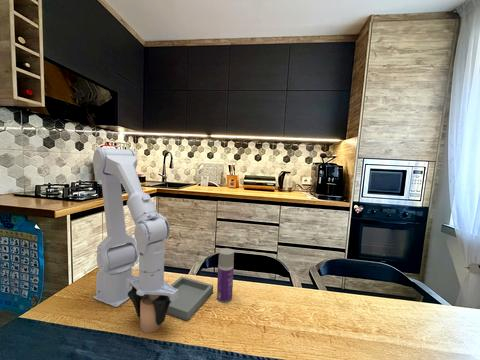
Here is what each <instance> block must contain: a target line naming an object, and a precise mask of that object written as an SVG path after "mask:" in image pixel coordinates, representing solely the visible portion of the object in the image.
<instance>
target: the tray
mask: <svg viewBox="0 0 480 360" xmlns="http://www.w3.org/2000/svg"><path fill="white" fill-rule="evenodd" d="M170 285H171V286H172V287H173V288H175V289H178V297H177V298H176V299H175V300H174V301H171V302H170V305H169V307H168V309H167V312H166V315H168V316H171V317H174V318H176V319H180V320H183V321H185V322H189V321H190V319H191V318H192V317H193V316H194V315H195V314H196V313H197V312H198V310H199V309H200V308H201V307H202V305H204V303H206V301H208V299H209V298H210V296H212V294H213V293H214V284H211V283H207V282H203V281H200V280H196V279H193V278H190V277H186V276H182V275H181V276H180V277H179V278H177V280H175V281H174V282H172V283H171V284H170Z"/></svg>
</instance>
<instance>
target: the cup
mask: <svg viewBox="0 0 480 360" xmlns="http://www.w3.org/2000/svg"><path fill="white" fill-rule="evenodd" d="M158 297H159V295H150V294H148V295H146V296H144V297H143V298H142V299H141V301H140V318H139V327H140V328H139V329H140V332H142V333H144V334H152V333H154V332H157V331H158V330H159V329H160V328H161V327H162V323H161V324H160V325H157V323H156V312H155V308H154V305H153V303H152V302H153V301H154V300H155V299H157V298H158Z"/></svg>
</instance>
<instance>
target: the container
mask: <svg viewBox="0 0 480 360" xmlns="http://www.w3.org/2000/svg"><path fill="white" fill-rule="evenodd" d="M234 257H235V251H234V249H232V248H227V247H225V248H221V249H220V250H219V252H218V262H217V263H218V265H217V285H216V287H217V289H216V294H217V295H216V300H217V301H218V302H220V303H222V304H228V303H230V302H232V300H233V286H234V285H233V284H234V283H233V282H234V268H235V267H234V264H235V263H234V261H235V258H234Z"/></svg>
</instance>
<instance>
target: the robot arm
mask: <svg viewBox="0 0 480 360" xmlns="http://www.w3.org/2000/svg"><path fill="white" fill-rule="evenodd" d="M92 164H93V165H92V166H93V173H94V178H95V179H98V180H100V183H101V190H102V199H103V201H102V202H103V207H104V217H105V228H106V235H107V236H106V237H105V238H104V239H103V240H102V241H101V242H100V243H99V244H98V245H97V247H96V248H97V249H96V251H97V253H96V264H97V268H98V271H97V273H96V275H95V276H96V277H95V278H96V280H95V283H96V284H95V285H96V287H95V290H96V291H95V292H96V293H95V294H96V295H94V296H93V299H94V300H96V301H99V302H101V303H105V304H107V305H108V306H109V305H110V306H112V307H114V308H118V307H120V306H121V305H123V304H124V303H125V302H127V301H128V300H131V302H132V304H133V306H134V309H135V312H136V316H137V318H138V319H140V301H141V299H142V298H143V297H144V296H146V295H148V294H150V295H159V297H158V298H157V299H155V300H154V301H153V302H152V303H153V305H154V308H155V312H156V323H157V325H160V324H161V325H162V324H163V323H164V321H165V319H166V316H167V314H166V312H167V309H168V307H169V305H170V302H171V301H174V300H175V299H176V298H177V297H178V289H175V288H173V287H172V286H171V284H169V283H168V282H166V281H165V280H164V279H165V277H164V276H165V240H167V239H168V238H169V236H170V234H171V229H170V223H169V221H168V219H167V218H166V217H164V216H163V215H162V214H161V213H158V211H157V210H158V209H156V206H155V204H154V202H153V200H152V198H151V196H150V194H149V193H147V192H144V190H143V188H142V184H141V181H140V179H139V175H138V172H137V166H138V156H137V153H136V152H135V150H134V149H133V148H128V149H122V148H108V147H107V148H105V147H101V146H100V147H97V148H95V150H94V152H93V157H92ZM122 186H123V189H124V190H125V192H126V195H127V196H128V199H127V200H126V206H127V208H128V211H129V213H130V216H131V218H132V220H133V222H134V225H135V227H134V230H133V235H134V236H132V235H130V234H127V229H126V221H125V219H126V218H125V210H124V209H125V208H124V203H123V202H124V199H123V193H122V192H123V191H122ZM137 261H138V276H137V275H133V267H135V263H136V262H137Z"/></svg>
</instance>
